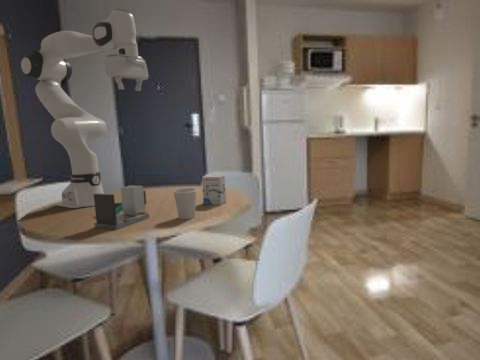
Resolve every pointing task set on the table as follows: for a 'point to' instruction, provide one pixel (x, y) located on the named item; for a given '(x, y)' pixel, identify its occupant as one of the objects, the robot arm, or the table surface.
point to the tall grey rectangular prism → (133, 200)
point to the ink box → (214, 189)
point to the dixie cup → (185, 202)
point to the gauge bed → (112, 213)
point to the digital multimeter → (118, 207)
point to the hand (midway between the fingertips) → (130, 90)
